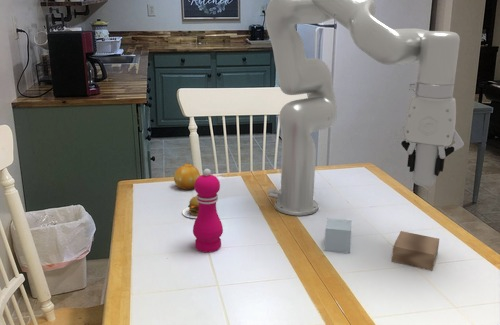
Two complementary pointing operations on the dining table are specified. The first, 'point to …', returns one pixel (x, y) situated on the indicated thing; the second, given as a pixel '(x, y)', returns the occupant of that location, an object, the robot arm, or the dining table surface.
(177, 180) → the fruit
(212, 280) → the dining table surface
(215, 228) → the pepper mill
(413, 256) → the walnut block
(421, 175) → the beverage can
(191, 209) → the hamburger
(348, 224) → the grey-blue block
